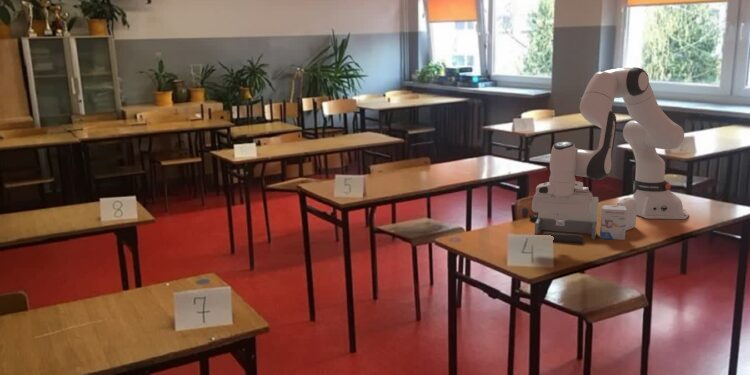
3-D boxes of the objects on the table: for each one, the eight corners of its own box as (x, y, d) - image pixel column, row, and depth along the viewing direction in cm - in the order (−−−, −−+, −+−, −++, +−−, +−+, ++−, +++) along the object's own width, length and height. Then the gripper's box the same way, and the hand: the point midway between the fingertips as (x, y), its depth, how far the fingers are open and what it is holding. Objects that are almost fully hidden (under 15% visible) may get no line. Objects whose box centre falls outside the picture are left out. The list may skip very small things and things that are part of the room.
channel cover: (596, 222, 242) (597, 221, 243) (598, 197, 242) (598, 197, 242) (538, 217, 251) (538, 217, 251) (539, 193, 250) (539, 193, 251)
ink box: (600, 239, 237) (602, 208, 234) (599, 234, 241) (601, 204, 239) (625, 240, 234) (627, 209, 232) (623, 236, 239) (625, 205, 236)
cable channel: (596, 233, 243) (596, 222, 242) (594, 239, 236) (595, 227, 235) (537, 228, 252) (538, 217, 251) (534, 234, 245) (535, 223, 244)
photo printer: (623, 232, 243) (624, 201, 240) (612, 230, 246) (614, 199, 243) (637, 227, 249) (639, 196, 246) (627, 225, 252) (628, 194, 250)
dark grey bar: (584, 242, 234) (584, 234, 234) (583, 244, 232) (583, 236, 231) (542, 238, 240) (542, 230, 240) (541, 240, 238) (541, 233, 237)
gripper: (593, 188, 224) (591, 225, 227) (534, 184, 232) (533, 220, 235) (591, 191, 218) (589, 230, 221) (531, 188, 226) (530, 225, 229)
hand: (560, 225), depth 228 cm, fingers closed
